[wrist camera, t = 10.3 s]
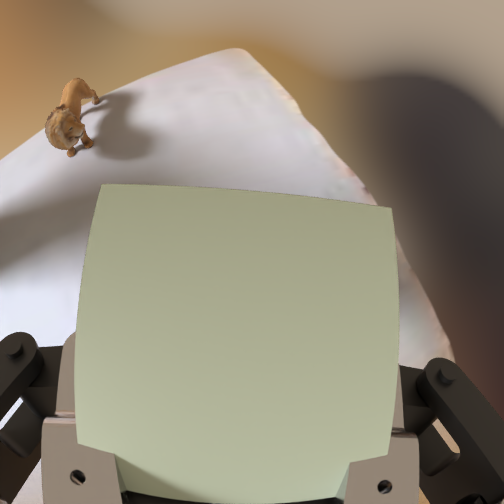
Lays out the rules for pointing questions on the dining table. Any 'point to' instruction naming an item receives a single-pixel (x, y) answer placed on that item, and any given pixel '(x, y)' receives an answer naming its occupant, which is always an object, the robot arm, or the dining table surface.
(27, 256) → the dining table surface
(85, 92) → the lion figurine
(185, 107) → the dining table surface
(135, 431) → the sage block
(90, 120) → the dining table surface
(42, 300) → the dining table surface
